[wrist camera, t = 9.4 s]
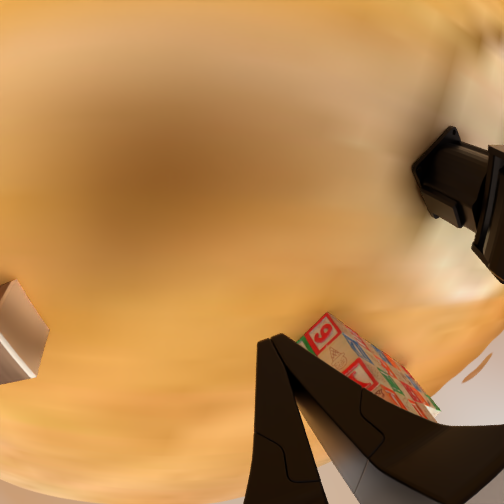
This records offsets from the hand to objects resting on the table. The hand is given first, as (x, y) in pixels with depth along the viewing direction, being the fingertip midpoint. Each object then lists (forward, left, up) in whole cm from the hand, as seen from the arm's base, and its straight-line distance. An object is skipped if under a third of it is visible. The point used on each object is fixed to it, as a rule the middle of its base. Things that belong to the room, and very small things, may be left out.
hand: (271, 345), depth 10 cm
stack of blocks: (+1, +25, -12) cm, 28 cm away
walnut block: (+14, -5, -10) cm, 18 cm away
